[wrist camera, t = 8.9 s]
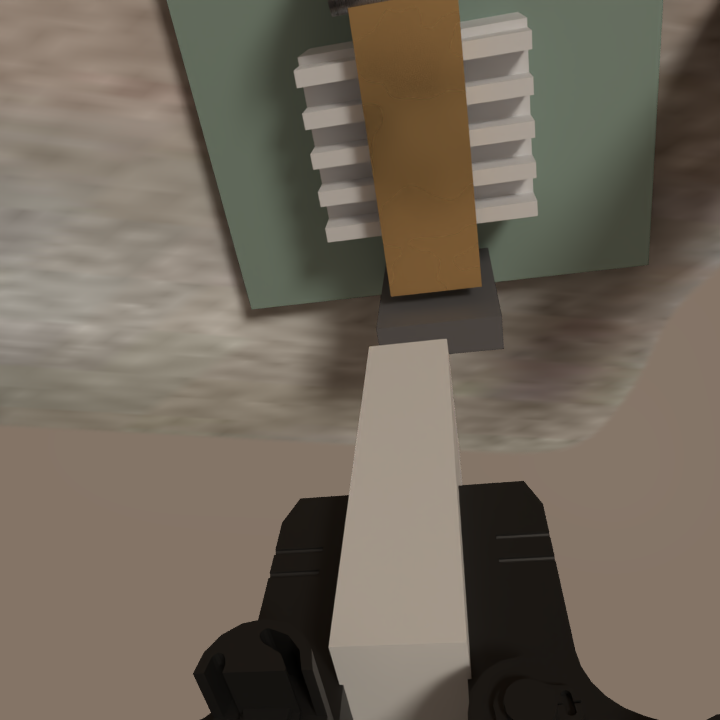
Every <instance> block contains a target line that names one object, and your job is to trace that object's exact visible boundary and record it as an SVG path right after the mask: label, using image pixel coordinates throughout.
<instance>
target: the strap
mask: <svg viewBox="0 0 720 720" xmlns="http://www.w3.org/2000/svg"><path fill="white" fill-rule="evenodd" d="M328 5H329V9H330V13H331V15H332V17H335V16H340V15H346V14H349V19H350V26H351V33H352V39H353V46H354V53H355V59H356V66H357V73H358V79H359V86H360V93H361V99H362V106H363V113H364V119H365V126H366V133H367V139H368V146H369V153H370V159H371V166H372V173H373V179H374V186H375V193H376V199H377V206H378V213H379V219H380V226H381V233H382V239H383V246H384V253H385V259H386V266H387V273H388V279H389V286H390V293H391V297H393V296H402V295H411V294H420V293H429V292H438V291H447V290H456V289H465V288H474V287H482V282H481V270H480V258H479V246H478V233H477V221H476V209H475V197H474V185H473V173H472V161H471V148H470V136H469V124H468V112H467V100H466V88H465V75H464V63H463V51H462V39H461V27H460V15H459V3H458V0H328Z"/></svg>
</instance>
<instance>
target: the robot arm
mask: <svg viewBox="0 0 720 720" xmlns="http://www.w3.org/2000/svg"><path fill="white" fill-rule="evenodd" d="M193 675H194V677H195V679H196V681H197V683H198V685H199V688H200V690H201V692H202V694H203V696H204V698H205V700H206V703H207V705H208V707H209V709H210V711H211V713H210V714H209V715H208V716H206V717H205V718H203V719H201V720H657V719H653V718H650V717H646V716H643V715H641V714H638V713H636V712H633V711H631V710H628V709H626V708H624V707H622V706H620V705H619V704H617V703H615V702H614V701H613V700H611V699H610V698H608V697H607V696H605V695H604V694H603V693H602V692H601V691H600V690H599V689H598V688H597V687H596V686H595V685H594V684H593V683H592V682H591V681H590V679H589V678H588V676H587V675H586V673H585V672H584V670H583V669H582V667H581V665H580V662H579V659H578V657H577V654H576V651H575V647H574V643H573V638H572V634H571V629H570V625H569V620H568V615H567V611H566V606H565V602H564V597H563V593H562V589H561V584H560V579H559V575H558V570H557V566H556V562H555V559H554V552H553V548H552V543H551V538H550V536H549V529H548V525H547V521H546V516H545V511H544V507H543V504H542V503H541V501H540V500H539V499H538V497H536V495H535V494H534V493H533V492H532V490H531V489H530V488H529V487H528V486H527V484H526V483H525V482H524V481H518V482H503V483H488V484H474V485H462V477H461V463H460V450H459V441H458V432H457V424H456V415H455V406H454V397H453V388H452V379H451V370H450V361H449V352H448V344H447V339H438V340H428V341H419V342H409V343H399V344H390V345H380V346H370V347H369V351H368V359H367V366H366V374H365V381H364V388H363V396H362V403H361V411H360V418H359V425H358V433H357V440H356V447H355V455H354V462H353V470H352V477H351V485H350V492H349V495H347V496H346V495H345V496H331V497H317V498H303V499H300V500H299V501H298V503H297V504H296V505H295V507H294V508H293V509H292V510H291V512H290V513H289V515H288V516H287V517H286V518H285V520H284V521H283V522H282V526H281V530H280V534H279V538H278V542H277V546H276V555H274V558H273V563H272V566H271V570H270V578H269V579H268V582H267V587H266V591H265V595H264V599H263V603H262V607H261V611H260V615H259V619H258V621H252V622H248V623H243V624H241V625H239V626H237V627H235V628H233V629H232V630H230V631H228V632H226V633H224V634H223V635H221V636H220V637H219V638H218V639H217V640H216V641H215V642H214V643H213V644H212V645H211V646H210V647H209V648H208V649H207V650H206V651H205V652H204V653H203V655H202V658H201V659H200V661H199V663H198V665H197V667H196V669H195V671H194V673H193ZM707 720H720V714H719V715H715V716H713V717H711V718H709V719H707Z"/></svg>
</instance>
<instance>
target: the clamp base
mask: <svg viewBox="0 0 720 720" xmlns="http://www.w3.org/2000/svg"><path fill="white" fill-rule="evenodd" d="M458 3H459V15H460V27H461V39H462V51H463V63H464V75H465V88H466V100H467V112H468V124H469V136H470V148H471V161H472V173H473V185H474V197H475V209H476V221H477V233H478V246H479V258H480V270H481V282H482V287H474V288H465V289H456V290H447V291H438V292H429V293H420V294H411V295H402V296H393V297H391V293H390V286H389V279H388V273H387V266H386V259H385V253H384V246H383V239H382V233H381V226H380V219H379V213H378V206H377V199H376V193H375V186H374V179H373V173H372V166H371V159H370V153H369V146H368V139H367V133H366V126H365V119H364V113H363V106H362V99H361V93H360V86H359V79H358V73H357V66H356V59H355V53H354V46H353V39H352V33H351V26H350V19H349V14H346V15H340V16H335V17H332V15H331V13H330V9H329V5H328V0H167V4H168V7H169V11H170V15H171V18H172V22H173V26H174V29H175V33H176V36H177V40H178V44H179V47H180V51H181V55H182V58H183V62H184V66H185V69H186V73H187V76H188V80H189V84H190V87H191V91H192V95H193V98H194V102H195V105H196V109H197V113H198V116H199V120H200V124H201V127H202V131H203V135H204V138H205V142H206V145H207V149H208V153H209V156H210V160H211V164H212V167H213V171H214V175H215V178H216V182H217V185H218V189H219V193H220V196H221V200H222V204H223V207H224V211H225V214H226V218H227V222H228V225H229V229H230V233H231V236H232V240H233V244H234V247H235V251H236V254H237V258H238V262H239V265H240V269H241V273H242V276H243V280H244V283H245V287H246V291H247V294H248V298H249V302H250V305H251V309H260V308H269V307H278V306H286V305H295V304H304V303H313V302H322V301H331V300H340V299H349V298H358V297H367V296H376V295H381V300H380V307H379V314H378V321H377V328H376V330H377V336H378V342H379V346H380V345H390V344H399V343H409V342H419V341H428V340H438V339H447V344H448V352H449V354H454V353H465V352H475V351H485V350H496V349H504V344H503V329H502V315H501V310H500V305H499V300H498V295H497V290H496V285H495V282H500V281H509V280H518V279H527V278H536V277H545V276H554V275H563V274H572V273H581V272H590V271H599V270H607V269H616V268H625V267H634V266H643V265H648V263H649V245H650V227H651V209H652V191H653V173H654V155H655V137H656V119H657V101H658V83H659V65H660V47H661V29H662V11H663V0H458Z"/></svg>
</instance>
